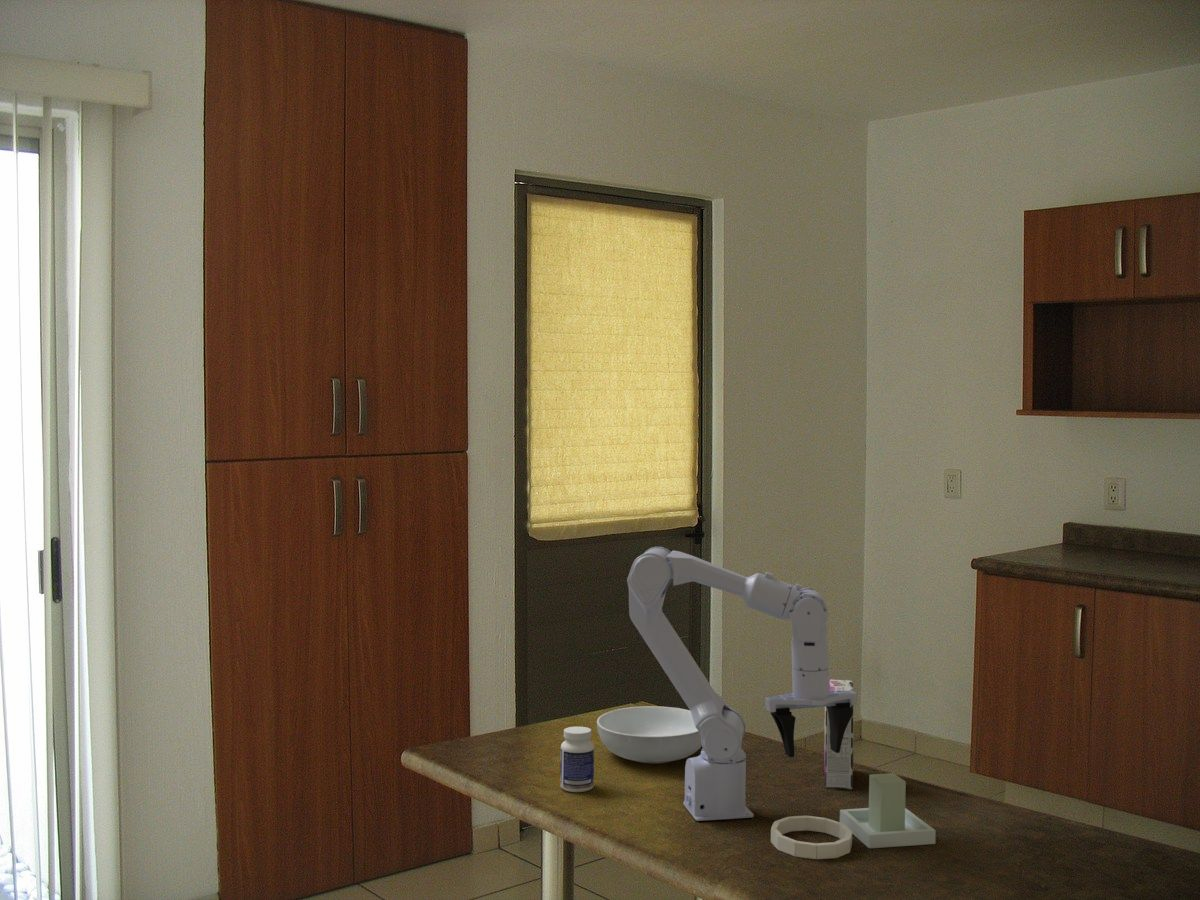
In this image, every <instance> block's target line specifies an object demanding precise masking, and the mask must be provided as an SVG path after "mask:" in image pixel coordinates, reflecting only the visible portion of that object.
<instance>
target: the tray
mask: <svg viewBox="0 0 1200 900" xmlns="http://www.w3.org/2000/svg"><path fill="white" fill-rule="evenodd" d="M868 818H869V807H865V808H861V807H860V808H847V809H844V808H843V809H840V810H839V822H840V823H843V824H844V825H846V826H847V827H848V828H849V829H850V830H851V831H852V836H853V835H854V837H856V838H857V839H858V840H859V841H860V842H861V843H863V845H864V846H866V847H867V848H868V849H880V848H882V849H883V848H893V847H894V848H895V847H896V848H898V847H907V846H908V847H909V846H922V845H936V836H937V835H936V834H937V833H936V829H934V828H933V827H931V825H929V824H928V823H926V822H925V821H924V820H922V819H921V818H919V817H918V816H917V815H916V814H914V813H913V812H912V811H910V810H909V809H907V808H906V807H905V830H904V831H889V832H875V831H874V830H873V829H871V828H870V827H869V826H868Z"/></svg>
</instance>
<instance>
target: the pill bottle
mask: <svg viewBox="0 0 1200 900" xmlns="http://www.w3.org/2000/svg"><path fill="white" fill-rule="evenodd" d="M563 738H564V741H562V743H561V745H560V765H559V766H560V768H559V769H560V770H559V771H560V774H559V775H560V776H559V777H560V778H559V785H560V788H561V789H562V790H563V791H566V792H569V793H583V792H589V791H591V790H592V789H593V788H594V781H595V746H594V743H593V742H591V741H590V740H591V738H592V729H591V728H590V727H587V726H586V727H585V726H569V727H566V728H564V729H563Z"/></svg>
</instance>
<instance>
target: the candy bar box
mask: <svg viewBox="0 0 1200 900" xmlns="http://www.w3.org/2000/svg"><path fill="white" fill-rule="evenodd" d="M848 690H852V691H853V692H854V683H853V680H849V679H834V678H829V691H848ZM854 706H855V705H850V707H852V708H853V716H852V717H851V719H850V721H849V723H848V725H847V727H846V730H845V733H844V736H843V739H842V743H841V749H840V753H835V752H834V751H833V750H831V747H830V723H829V716H828V710H827V706H825V707H824V726H823V727H824V729H823V730H824V731H823V733H824V737H823V739H824V741H823V743H824V747H823V748H824V751H823V752H824V755H823V756H824V759H823V761H824V786H825V788H827V789H837V790H853V788H854V787H853V786H854V784H853V783H854V722H855V721H854V710H855V709H854V708H855V707H854Z"/></svg>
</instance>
